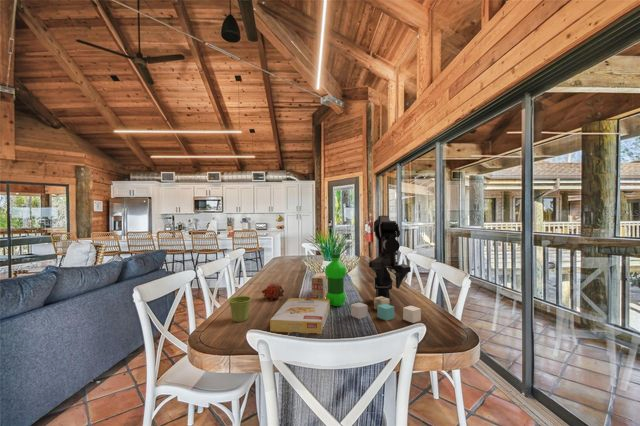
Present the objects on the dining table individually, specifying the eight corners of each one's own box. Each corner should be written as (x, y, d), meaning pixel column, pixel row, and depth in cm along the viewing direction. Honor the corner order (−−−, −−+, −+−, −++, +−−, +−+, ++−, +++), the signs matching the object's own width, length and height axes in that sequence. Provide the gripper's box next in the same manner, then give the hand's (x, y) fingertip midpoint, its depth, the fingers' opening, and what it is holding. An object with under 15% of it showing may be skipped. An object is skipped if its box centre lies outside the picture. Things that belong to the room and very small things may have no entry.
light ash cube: (374, 308, 134) (374, 298, 134) (381, 306, 137) (381, 296, 137) (382, 311, 130) (381, 300, 130) (389, 309, 132) (389, 298, 132)
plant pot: (230, 325, 114) (230, 303, 114) (226, 318, 123) (226, 297, 123) (253, 321, 119) (253, 300, 119) (248, 314, 127) (248, 294, 127)
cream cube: (403, 319, 120) (403, 307, 120) (410, 317, 123) (410, 305, 123) (413, 323, 116) (413, 311, 116) (420, 320, 118) (420, 308, 118)
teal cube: (377, 317, 122) (377, 305, 122) (385, 315, 125) (385, 303, 125) (386, 321, 118) (386, 309, 118) (394, 318, 121) (394, 306, 121)
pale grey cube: (351, 315, 125) (351, 304, 125) (359, 313, 127) (359, 302, 127) (358, 319, 120) (358, 307, 120) (367, 316, 123) (367, 305, 123)
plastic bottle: (331, 300, 146) (331, 252, 146) (350, 303, 141) (349, 253, 141) (321, 306, 138) (321, 254, 138) (340, 309, 132) (340, 255, 132)
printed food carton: (321, 290, 167) (321, 269, 167) (331, 290, 166) (331, 269, 166) (311, 301, 146) (311, 277, 146) (323, 301, 145) (323, 277, 145)
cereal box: (329, 297, 133) (322, 320, 105) (330, 309, 133) (322, 335, 105) (287, 297, 136) (269, 318, 108) (288, 308, 136) (269, 333, 108)
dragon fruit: (285, 302, 148) (263, 305, 149) (286, 289, 155) (265, 292, 156) (281, 292, 144) (258, 295, 145) (282, 279, 151) (260, 282, 152)
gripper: (359, 249, 125) (360, 285, 125) (393, 253, 110) (393, 294, 110) (377, 247, 132) (377, 281, 132) (411, 251, 117) (411, 289, 116)
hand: (388, 286), depth 122 cm, fingers open, 9 cm apart
